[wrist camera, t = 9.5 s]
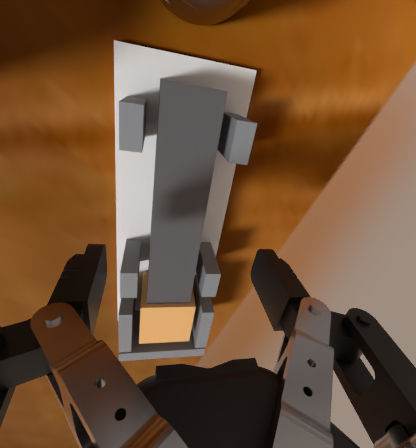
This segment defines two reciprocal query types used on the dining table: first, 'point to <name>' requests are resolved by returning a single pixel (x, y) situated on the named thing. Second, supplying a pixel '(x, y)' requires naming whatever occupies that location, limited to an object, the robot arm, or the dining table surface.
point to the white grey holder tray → (144, 181)
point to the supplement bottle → (204, 10)
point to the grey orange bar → (179, 206)
